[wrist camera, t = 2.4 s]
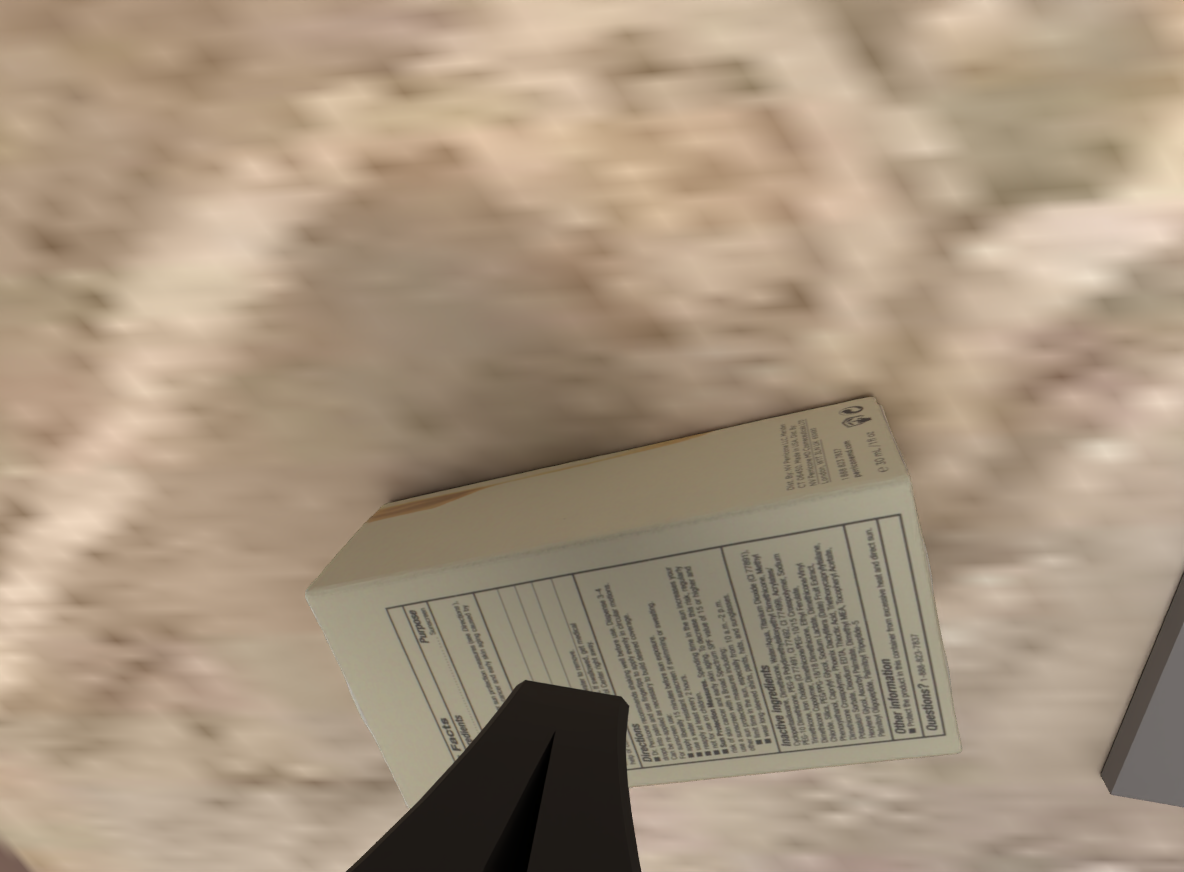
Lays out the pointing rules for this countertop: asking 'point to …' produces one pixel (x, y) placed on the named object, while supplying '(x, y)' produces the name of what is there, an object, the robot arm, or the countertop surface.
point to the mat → (1154, 723)
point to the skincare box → (659, 604)
